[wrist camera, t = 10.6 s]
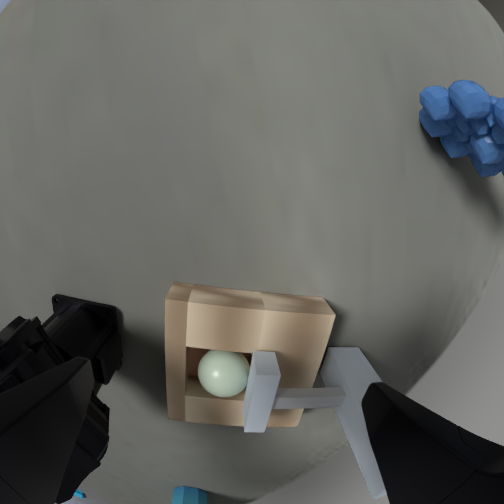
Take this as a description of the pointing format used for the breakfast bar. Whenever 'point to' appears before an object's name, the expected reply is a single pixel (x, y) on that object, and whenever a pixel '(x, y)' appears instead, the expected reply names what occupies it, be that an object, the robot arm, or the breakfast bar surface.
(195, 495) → the cup
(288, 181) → the breakfast bar surface
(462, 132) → the grapes
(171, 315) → the board
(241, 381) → the ball
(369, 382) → the pull handle
